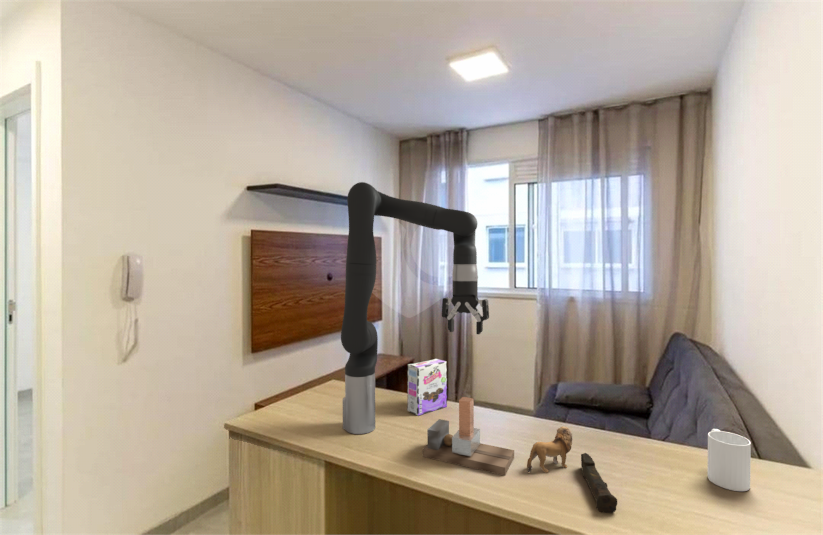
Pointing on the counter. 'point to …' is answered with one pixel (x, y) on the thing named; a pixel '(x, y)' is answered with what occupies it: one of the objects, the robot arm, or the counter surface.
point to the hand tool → (597, 485)
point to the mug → (729, 460)
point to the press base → (481, 459)
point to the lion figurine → (552, 449)
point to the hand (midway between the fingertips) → (465, 332)
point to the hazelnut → (448, 439)
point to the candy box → (427, 386)
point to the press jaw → (466, 429)
